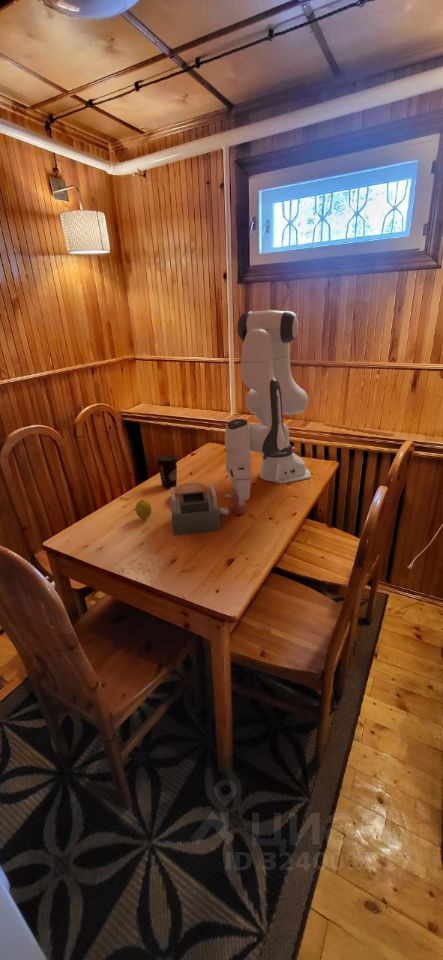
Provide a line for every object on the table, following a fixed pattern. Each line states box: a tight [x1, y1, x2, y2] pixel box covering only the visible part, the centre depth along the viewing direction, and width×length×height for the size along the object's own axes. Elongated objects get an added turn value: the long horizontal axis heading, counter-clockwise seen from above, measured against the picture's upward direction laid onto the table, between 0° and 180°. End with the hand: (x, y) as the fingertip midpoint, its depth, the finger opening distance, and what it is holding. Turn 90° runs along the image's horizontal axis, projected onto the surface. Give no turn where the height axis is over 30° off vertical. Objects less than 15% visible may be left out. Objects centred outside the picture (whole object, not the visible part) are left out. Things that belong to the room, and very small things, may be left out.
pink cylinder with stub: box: [224, 487, 247, 516], centre depth 151 cm, size 8×5×10 cm, turn 98°
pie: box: [174, 482, 210, 499], centre depth 163 cm, size 16×16×5 cm
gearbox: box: [170, 483, 230, 536], centre depth 143 cm, size 20×12×13 cm, turn 98°
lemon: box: [135, 498, 152, 520], centre depth 149 cm, size 6×6×8 cm
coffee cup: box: [156, 454, 178, 490], centre depth 174 cm, size 9×8×13 cm
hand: (239, 500), depth 151 cm, fingers open, 5 cm apart
